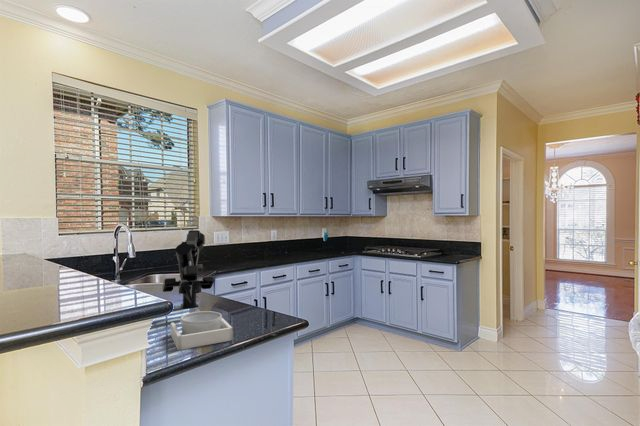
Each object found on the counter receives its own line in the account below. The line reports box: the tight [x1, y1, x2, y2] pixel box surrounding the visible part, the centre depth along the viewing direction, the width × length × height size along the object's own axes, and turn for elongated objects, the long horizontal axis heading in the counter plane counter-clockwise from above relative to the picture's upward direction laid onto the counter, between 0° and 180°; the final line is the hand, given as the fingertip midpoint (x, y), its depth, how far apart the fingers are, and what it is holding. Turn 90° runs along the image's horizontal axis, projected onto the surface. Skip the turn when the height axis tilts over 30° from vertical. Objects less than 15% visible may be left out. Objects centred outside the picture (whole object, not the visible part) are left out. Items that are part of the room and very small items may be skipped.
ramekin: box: [180, 310, 223, 335], centre depth 113 cm, size 13×13×7 cm
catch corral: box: [170, 317, 234, 351], centre depth 112 cm, size 16×17×4 cm
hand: (191, 302), depth 128 cm, fingers closed
